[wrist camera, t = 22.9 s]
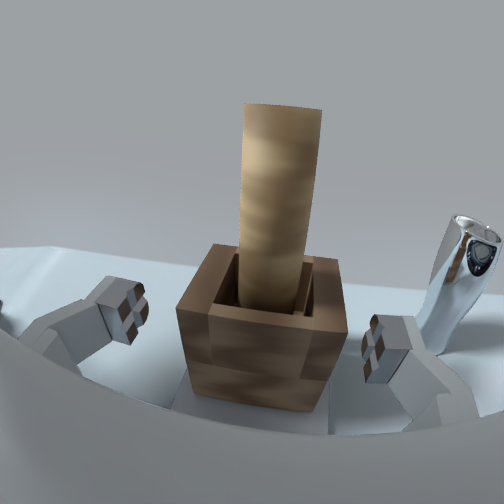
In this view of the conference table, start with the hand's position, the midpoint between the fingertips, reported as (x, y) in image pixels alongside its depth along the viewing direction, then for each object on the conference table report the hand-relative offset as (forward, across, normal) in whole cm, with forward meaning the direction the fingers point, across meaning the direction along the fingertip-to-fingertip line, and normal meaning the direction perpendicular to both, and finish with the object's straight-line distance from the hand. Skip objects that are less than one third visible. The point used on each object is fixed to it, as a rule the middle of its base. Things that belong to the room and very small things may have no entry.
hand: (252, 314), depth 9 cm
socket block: (+8, 0, +14) cm, 17 cm away
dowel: (+8, 0, +9) cm, 12 cm away
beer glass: (+15, -20, +16) cm, 30 cm away
